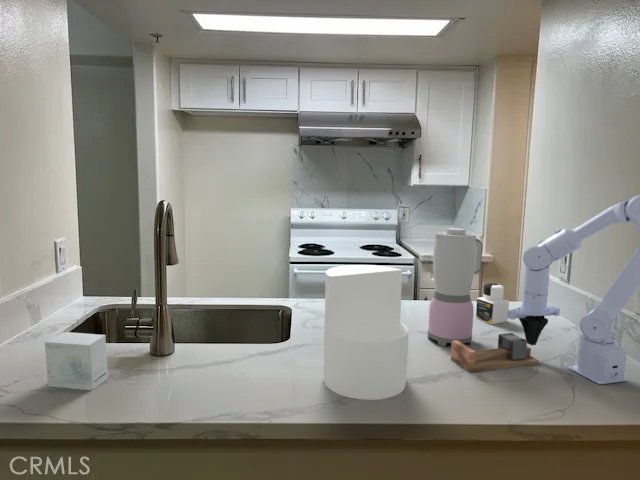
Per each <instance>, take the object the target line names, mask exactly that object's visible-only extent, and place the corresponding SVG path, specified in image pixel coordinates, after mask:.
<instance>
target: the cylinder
mask: <svg viewBox="0 0 640 480" xmlns="http://www.w3.org/2000/svg"><path fill="white" fill-rule="evenodd" d="M324 279H325V280H324V281H325V282H324V283H325V289H324V293H325V294H324V299H325V300H324V331H323V332H324V335H323V337H324V339H323V342H324V343H323V347H324V348H323V382H324V384H325V386H326V387H327V388H328V389H329V390H330V391H332V392H333V393H335V394H338V395H339V396H343V397H345V398H350V399H355V400H356V399H357V400H368V401H376V400H385V399H388V398H389V399H390V398H392V397H396V396H398V395H400V394H401V393H402V392H403V391H404V390H405V389H406V387H407V377H408V376H407V373H408V372H407V371H408V370H407V369H408V354H409V352H408V349H409V329H408V326H406V325H405V323H402V322H401V311H402V310H401V309H402V307H401V306H402V290H403V289H402V287H403V285H402V282H403V269H401V268H396V267H392V266H387V265H386V266H384V265H375V264H349V265H340V266H339V265H338V266H334V267H331V268H328V269H326V270H325V278H324Z"/></svg>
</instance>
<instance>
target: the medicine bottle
mask: <svg viewBox="0 0 640 480" xmlns="http://www.w3.org/2000/svg"><path fill="white" fill-rule="evenodd" d="M504 289H505V288H504V285H501V284H499V283H493V282H492V283H490V282H489V283H485V284H484V285H483V293H482V295H483V296H482V297H481V296H480V297H477V298H476V309H475V310H476V311H475V318H476V319H477V320H479V321H482V322H484V323H487V324H490V325H495V324H496V325H498V324H502V323H508V321H509V320H508V319H509V318H507V310H510V309H509V308H510V307H509V306H510V301H509V300H508V299H504Z"/></svg>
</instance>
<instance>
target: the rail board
mask: <svg viewBox="0 0 640 480" xmlns="http://www.w3.org/2000/svg"><path fill="white" fill-rule="evenodd" d="M450 351H451V352H450V360H451V361H452V362H454V363H455V364H457V365H458V366H460V367H461V368H462V369H463V370H465V371H467V373H472V372H473V373H474V372H482V371H488V370H489V371H490V370H499V369H508V368H509V369H510V368H516V367H517V368H518V367H526V366H527V367H528V366H534V365H539V361H540V360H538V359H537V358H535V357H533V356H531V353H532V352H531V351H532V348H531V347H529V346H527V349H526V359H518V360H511V359H509V358H508V351H509V350H507V349H506V348H498V347H497V348H490V349H481V350H479V349H478V350H475V349H472V348H470V347H469V346H468V345H465V343H461V342H459V341H458V340H454V341H452V343H451V350H450Z"/></svg>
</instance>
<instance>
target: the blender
mask: <svg viewBox="0 0 640 480" xmlns="http://www.w3.org/2000/svg"><path fill="white" fill-rule="evenodd" d="M434 236H435V237H434V245H433V256H432V257H433V258H432V273H433V283H434V293H433V297H432V298H431V300H430V303H429V308H428V309H429V310H428V328H427V339H428V340H435V341H437V343H438V346H441V347H447V343H448V344H452V341H454V340H458V341H459V342H461V343H462V344H465V343H466V344H468V345H471V344H472V340H473V326H474V315H475V314H474V311H475V310H474V304H473V302H472V299H471V295H470V294H471V288H472V285H473V281H474V276H475V274H478V273H479V272H480V270H481V267H482V258H483V243H482V241H481V240H480V239H478V238H477V236H476V234H474V233H471V232H466V229H465V228H459V227H448V228H446V229H445V231H438V232H436V233H435V235H434Z"/></svg>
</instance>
